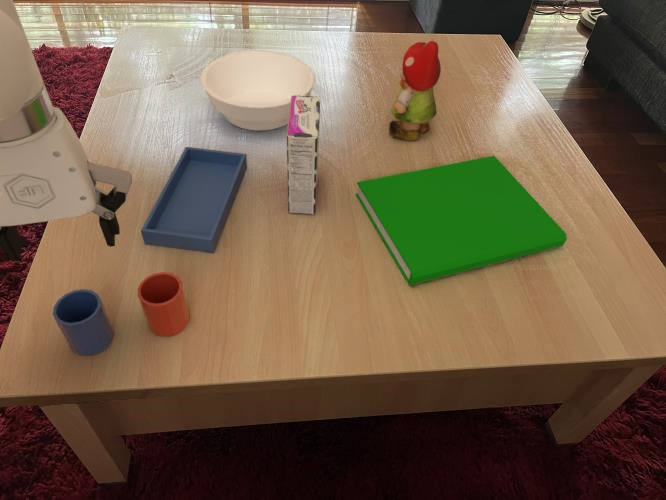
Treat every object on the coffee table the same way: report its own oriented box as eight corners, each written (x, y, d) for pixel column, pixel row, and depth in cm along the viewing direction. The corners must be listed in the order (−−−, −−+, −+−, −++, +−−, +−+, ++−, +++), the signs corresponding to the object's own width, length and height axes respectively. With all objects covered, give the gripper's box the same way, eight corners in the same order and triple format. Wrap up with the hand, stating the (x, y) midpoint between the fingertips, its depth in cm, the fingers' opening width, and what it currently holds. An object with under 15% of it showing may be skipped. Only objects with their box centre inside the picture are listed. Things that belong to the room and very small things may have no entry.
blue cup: (104, 358, 69) (88, 328, 64) (62, 352, 69) (44, 321, 64) (121, 323, 73) (108, 292, 67) (81, 318, 73) (65, 286, 68)
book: (355, 194, 94) (357, 181, 92) (489, 168, 102) (494, 155, 100) (410, 288, 80) (413, 275, 78) (561, 248, 88) (568, 236, 85)
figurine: (397, 113, 113) (413, 20, 99) (436, 123, 111) (458, 30, 97) (382, 140, 106) (396, 44, 92) (423, 151, 104) (444, 55, 90)
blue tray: (213, 253, 82) (211, 239, 80) (144, 244, 83) (140, 230, 81) (247, 167, 98) (246, 153, 96) (188, 159, 98) (185, 146, 96)
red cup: (182, 339, 71) (173, 308, 66) (142, 333, 72) (130, 302, 67) (194, 306, 75) (187, 275, 70) (156, 301, 75) (146, 269, 70)
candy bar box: (290, 173, 97) (290, 93, 85) (317, 175, 97) (321, 95, 85) (286, 214, 89) (285, 133, 78) (315, 216, 90) (319, 135, 78)
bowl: (329, 133, 107) (331, 96, 101) (219, 153, 100) (215, 115, 94) (293, 79, 121) (293, 43, 115) (195, 93, 114) (190, 56, 108)
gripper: (-123, 146, 41) (-27, 284, 54) (109, 122, 45) (148, 256, 58) (-99, 96, 46) (-16, 233, 59) (109, 79, 50) (145, 211, 63)
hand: (65, 244), depth 58 cm, fingers open, 9 cm apart
